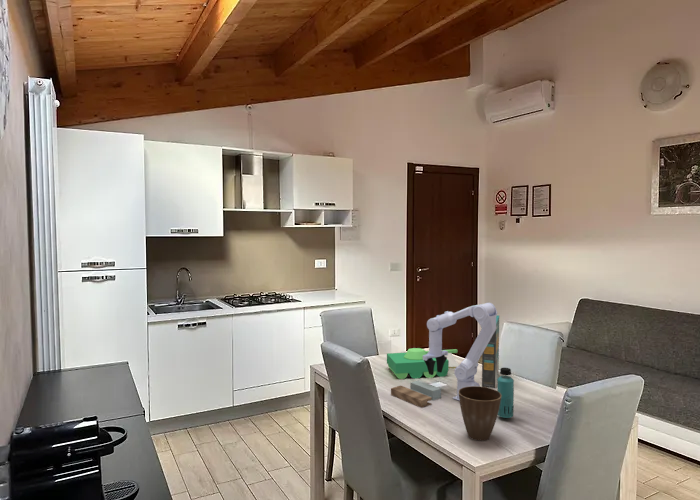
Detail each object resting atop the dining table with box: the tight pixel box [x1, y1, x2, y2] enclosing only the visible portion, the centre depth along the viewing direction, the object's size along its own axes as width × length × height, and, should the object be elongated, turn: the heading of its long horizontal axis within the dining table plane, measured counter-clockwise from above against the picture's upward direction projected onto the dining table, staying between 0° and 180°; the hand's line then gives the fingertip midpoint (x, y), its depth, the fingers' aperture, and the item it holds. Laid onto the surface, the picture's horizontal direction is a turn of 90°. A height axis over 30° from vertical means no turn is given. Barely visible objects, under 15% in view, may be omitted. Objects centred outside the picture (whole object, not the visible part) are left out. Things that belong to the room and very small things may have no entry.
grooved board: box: [390, 385, 433, 408], centre depth 215 cm, size 19×6×3 cm, turn 37°
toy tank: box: [386, 347, 458, 380], centre depth 253 cm, size 18×12×35 cm
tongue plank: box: [409, 380, 442, 401], centre depth 220 cm, size 14×6×4 cm, turn 37°
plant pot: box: [458, 386, 501, 442], centre depth 178 cm, size 15×15×16 cm
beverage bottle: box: [496, 367, 515, 419], centre depth 194 cm, size 6×7×20 cm
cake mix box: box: [481, 314, 500, 389], centre depth 239 cm, size 22×6×30 cm, turn 160°
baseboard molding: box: [445, 349, 460, 369], centre depth 275 cm, size 31×3×12 cm
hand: (435, 373), depth 225 cm, fingers open, 5 cm apart
